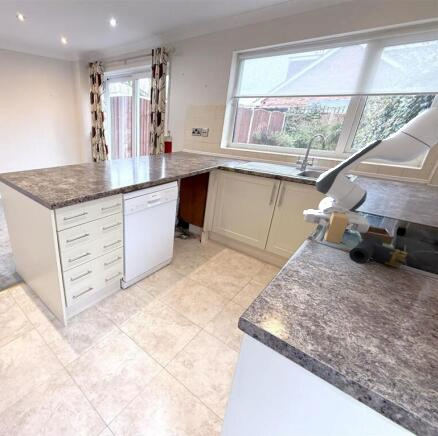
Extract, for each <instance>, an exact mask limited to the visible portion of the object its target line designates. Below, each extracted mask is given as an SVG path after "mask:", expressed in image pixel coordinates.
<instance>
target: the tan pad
mask: <svg viewBox="0 0 438 436" xmlns="http://www.w3.org/2000/svg"><path fill="white" fill-rule="evenodd" d="M348 221H349V217H348V215H345V214H339V213H333V212H332V215H331V218H330V221H329V226H328V228H326V230H325V233H324V241H325V242H329V243H333V244H338V245H340V244H341V242H342V240H343V237H344V234H345V232H346V231H345V229H346V226H347V223H348Z"/></svg>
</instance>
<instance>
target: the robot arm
mask: <svg viewBox="0 0 438 436" xmlns="http://www.w3.org/2000/svg"><path fill="white" fill-rule="evenodd" d="M437 144H438V106H433V107H429V108H428V109H427V108H426V110H424V111H423V112H421V113H419V114H418V115H416V116H415V117H414V118H413V119H411V120H410V121H409V122H407V123H406V124H405V125H403V126H402V127H401V128H400V129H399V130H397V131H396V132H395V133H394V134H392V135H391V136H389V137H387V138H384V139H375V140H372V141H371V142H369V143H367V144H365V145H364V146H363V147H360V149H358V150H357V151H355V152H354V153H352V154H351V155H350V156H348V157H346V158H345V159H344V160H342V161H341V162H340V163H338V164H336V165H334V167H332V168H331V169H329V170H327V171H325V172H324V173H322V174H320V176H319V177H318V178H317V179H316V181H315V189H316V191H318V192H320V193H321V194H323V195H326V196H327V197H325V198H322V199H321V201H320V202H319V204H318V209H317V210H316V209H307V210H303V215H304V218H303V221H304V222H306V223H310V224H315V225H320V226H322V227H323V228H326V229H327V228H328V226H329V221H330V218H331V215H332V212H333V213H339V214H345V215H348V217H349V221H348V223H347V226H346V229H345V232H348V233H350V232H351V231H353V232H355V231H357V232H363V233H365V232H367V231H368V229H369V226H371V224H370V223H371V222H370V221H369V220H368V219H367V217H365V216H363V213H362V212H361V211H358V209H359V208H361V206H363V205H364V204H365V202H366V200H367V196H368V192H367V189H365V188H364V187H362V186H361V185H360V184H358V183H356V182H354V181H353V180H351V179H350V178H348V177H347V176H345V174H346V173H347V172H349V171H350V170H352V169H354V168H355V167H356V166H358V165H359V164H361V163H362V162H364V161H367V160H382V161H387V162H392V163H407V162H412V161H414V160H416V159H418V158H419V157H421V156H423V155H424V154H426V153H427V152H428V151H429V150H430V149H432V148H433V147H434V146H436V145H437Z"/></svg>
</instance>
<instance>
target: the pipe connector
mask: <svg viewBox="0 0 438 436" xmlns="http://www.w3.org/2000/svg"><path fill="white" fill-rule="evenodd" d="M348 256H349V259H350V260H351V261H353V262H354V261H355V263H357V264H364V263H367V262H368V261H369V260H370V259H371V260H375V261H378V262H380V263H384V264H385V265H388V266H391V267H394V268H396V269H401V267H402V266H403V264H404V262H405V259H406V257H407V256H408V252H406V251H402V250H401V249H396V248H393V249H392V248H389V247H385V246H383V242H382V240H381V239H380V238H378V237H376V236H368V237H366V238H365V239H364V240H363V241H361V242H360V241H359V243H358V244H356V245H355V246H353V248H351V249H350V250H349V252H348Z"/></svg>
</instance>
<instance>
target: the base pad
mask: <svg viewBox="0 0 438 436" xmlns="http://www.w3.org/2000/svg"><path fill="white" fill-rule="evenodd" d="M354 232H355V235H356V237H357V239H358V240H359V243H360V242H361V241H363V240H364V239H365V238H366V237H368V236H376V237H378V238H380V239H381V240H382V242H383V246H385V247H389V248H392V249H395V247H394V245H393V244H392V243H393V242H394V241H393V240H394V238H395V236H394V235H393V234H392V233H391V231H390V230H389V229H388V228H384V227H379V226H373V225H370V226H369V229H368V231H367V232H365V233H363V232H357V231H354Z"/></svg>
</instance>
